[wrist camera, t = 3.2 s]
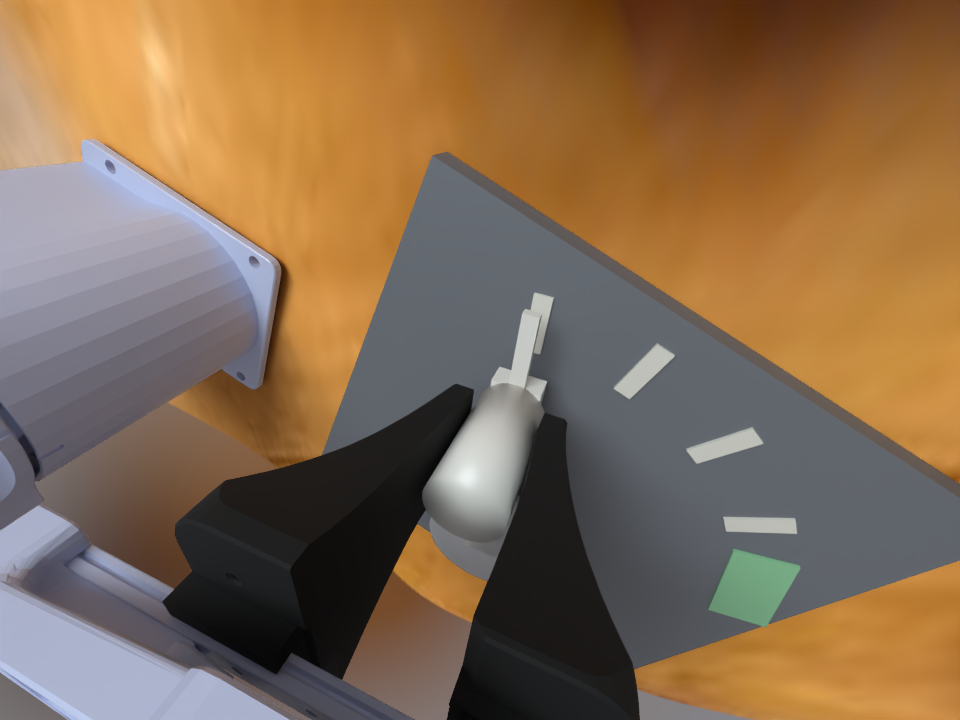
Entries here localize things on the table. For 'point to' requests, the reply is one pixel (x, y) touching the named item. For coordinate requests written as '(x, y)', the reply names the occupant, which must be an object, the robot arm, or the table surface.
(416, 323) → the gauge board
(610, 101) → the table surface
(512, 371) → the tuning lever
